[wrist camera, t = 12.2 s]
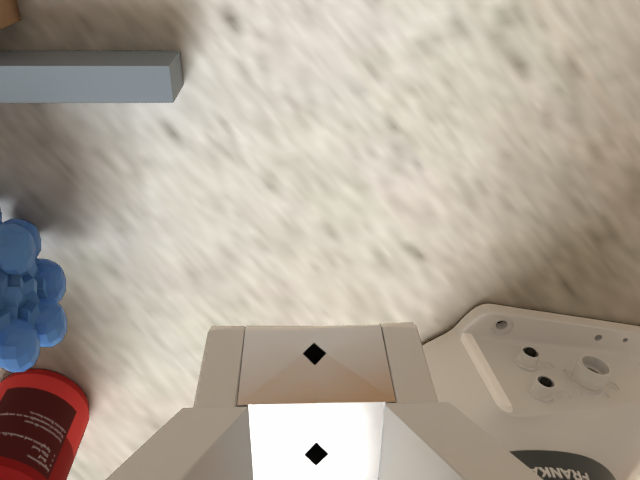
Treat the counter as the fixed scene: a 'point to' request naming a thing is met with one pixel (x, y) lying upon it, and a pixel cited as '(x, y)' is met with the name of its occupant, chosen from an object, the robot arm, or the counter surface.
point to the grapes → (27, 297)
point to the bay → (90, 76)
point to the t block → (8, 13)
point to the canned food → (40, 425)
